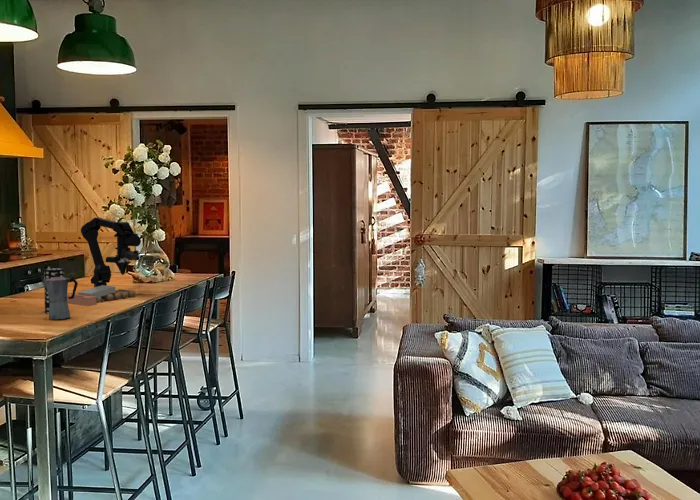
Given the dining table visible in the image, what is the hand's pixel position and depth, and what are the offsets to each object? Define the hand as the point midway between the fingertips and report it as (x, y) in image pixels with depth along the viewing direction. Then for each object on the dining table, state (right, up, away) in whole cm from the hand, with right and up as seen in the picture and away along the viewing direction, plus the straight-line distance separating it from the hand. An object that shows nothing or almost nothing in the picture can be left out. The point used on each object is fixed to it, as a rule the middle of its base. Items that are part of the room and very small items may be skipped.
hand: (123, 274), depth 352 cm
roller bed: (-5, -13, -8) cm, 16 cm away
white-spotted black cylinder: (-15, -16, -47) cm, 52 cm away
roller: (-9, -13, -16) cm, 23 cm away
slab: (-8, -10, -14) cm, 19 cm away
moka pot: (-6, -17, -62) cm, 65 cm away
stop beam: (-13, -14, -23) cm, 30 cm away
